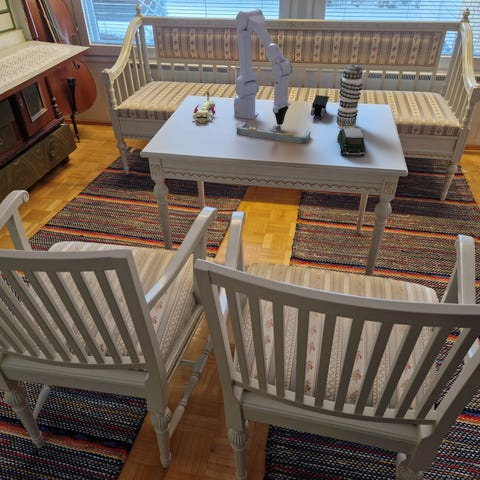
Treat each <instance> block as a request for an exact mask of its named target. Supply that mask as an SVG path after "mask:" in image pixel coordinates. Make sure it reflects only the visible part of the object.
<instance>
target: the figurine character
mask: <svg viewBox="0 0 480 480" xmlns="http://www.w3.org/2000/svg"><path fill="white" fill-rule="evenodd" d="M329 99H330V96H328V95H321V94H320V95H319V94H316V95H315V97H314V100H313V102H312V103H311V110H310V116H311V117H312V118H313V120H316V118H319V121H321V120H322V118H323V117H325V115H326V114H327V104H328V101H329Z"/></svg>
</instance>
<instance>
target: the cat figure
mask: <svg viewBox="0 0 480 480" xmlns="http://www.w3.org/2000/svg"><path fill="white" fill-rule="evenodd" d="M210 96H211V95H210V91H208V90H207V91H206V100H204V101H203V103H202V106H201V104H198V105H196V106H195V108H194V110H193V114H192V118H194V119H195V120H196V121H197V122H199V123H200V124H204V123H205V122H208V121H210V120H211V119H212V118H214V116H215V114H216V110H215V108H214V107H215V106H216V103H215V102H214V100H210ZM199 106H201V108H200V110H199V109H198V108H199ZM209 109H210V111H211V113H210V112H209Z"/></svg>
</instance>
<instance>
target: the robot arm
mask: <svg viewBox="0 0 480 480" xmlns="http://www.w3.org/2000/svg"><path fill="white" fill-rule="evenodd" d="M265 19H266V18H265V16H264V14H263V11H262V9H260V8H255V9H248V10H240V11H239V12H238V13H237V14H236V16H235V21H236V22H235V23H236V24H235V25H236V36H237V47H238V48H237V49H238V59H239V70H240V71H239V72H240V75H238V77H237V78H236V79H235V94H236V95H235V97H234V100H233V108H234V109H233V114H234V115H233V118H240V119H248V120H253V119H254V118H255V117H256V116H258V115H259V112H256V97H257V94H258V93H259V90H260V85H259V81H258V76H256V75H255V74H254V73H253V71H254V70H253V59H252V57H253V56H252V43H251V34H252V32H255V33H256V35H257V36H258V39H260V41H261V42H262V44H263V46H264V47H265V50H264V54H265V56H266V58H267V59H268V60H269V61H268V62H269V63H270V65H271V66H272V68H271V74H272V76H273V81H274V86H273V87H274V93H273V95H274V96H273V108H272V113H273V114H274V117H275V121H276V125H280V126H282V125H283V124H284V122H285V118H286V114H287V112H288V110H289V107H290V106H291V102H289V82H290V81H289V80H290V77H289V76H290V75H291V74H292V72H293V65H292V62H291V61H290V60H289V59H287V58H286V57H285V56H284V54H283V53H282V50H281V48H280V46H279V45H278V44H277V43H274V42H273V39H272V38H271V35H270V33H269V31H268V28H267V26H266V24H265V21H266V20H265Z"/></svg>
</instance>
